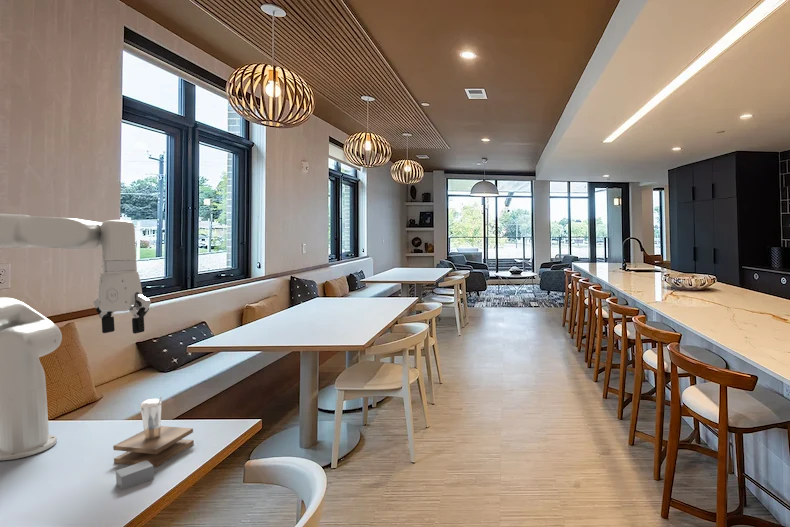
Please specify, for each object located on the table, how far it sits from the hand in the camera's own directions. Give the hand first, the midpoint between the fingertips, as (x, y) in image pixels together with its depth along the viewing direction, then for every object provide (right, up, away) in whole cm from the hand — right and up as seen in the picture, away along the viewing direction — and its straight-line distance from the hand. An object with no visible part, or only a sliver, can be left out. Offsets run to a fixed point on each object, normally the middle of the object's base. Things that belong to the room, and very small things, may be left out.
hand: (123, 332), depth 114 cm
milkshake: (+13, -24, -9) cm, 29 cm away
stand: (+13, -28, -9) cm, 32 cm away
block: (+16, -29, -22) cm, 39 cm away
